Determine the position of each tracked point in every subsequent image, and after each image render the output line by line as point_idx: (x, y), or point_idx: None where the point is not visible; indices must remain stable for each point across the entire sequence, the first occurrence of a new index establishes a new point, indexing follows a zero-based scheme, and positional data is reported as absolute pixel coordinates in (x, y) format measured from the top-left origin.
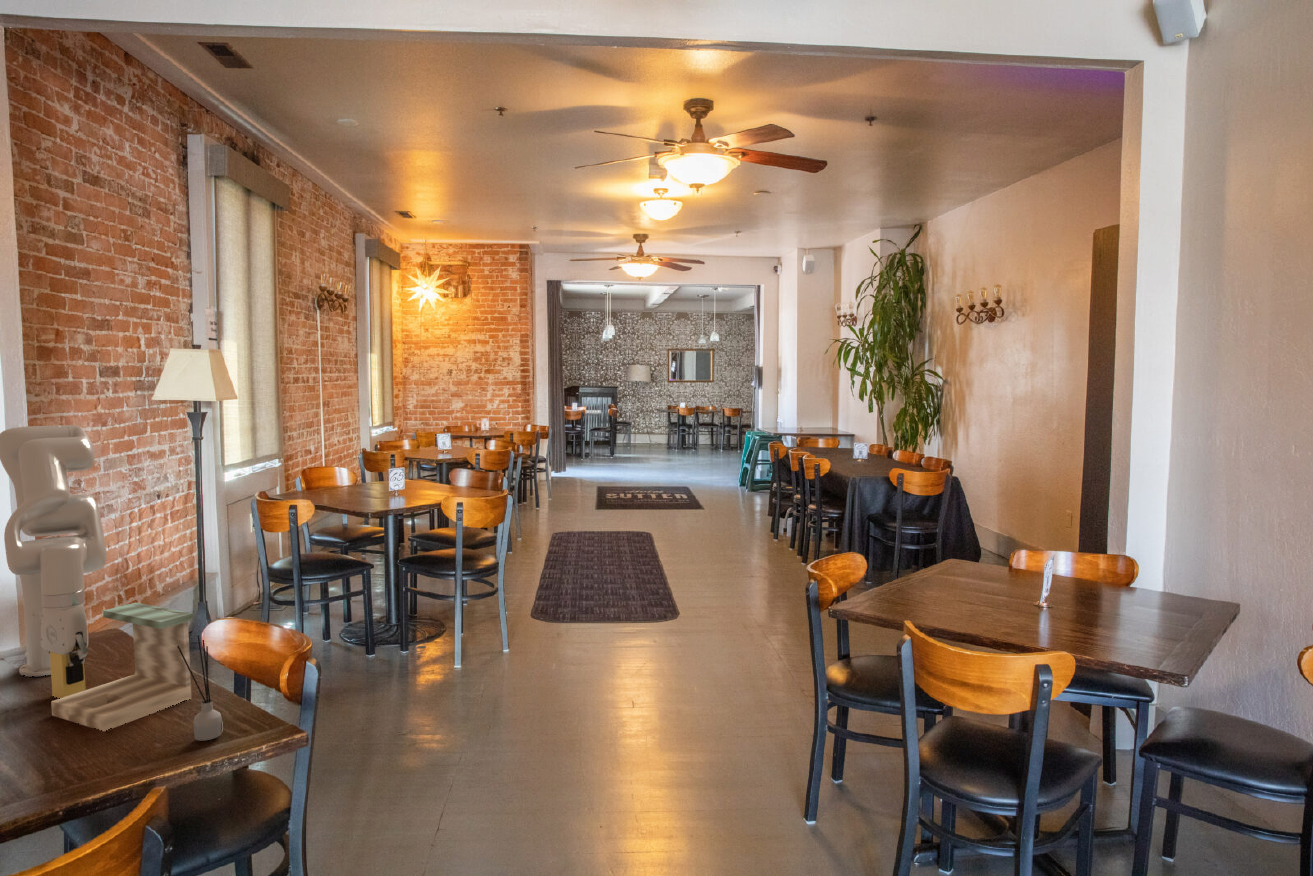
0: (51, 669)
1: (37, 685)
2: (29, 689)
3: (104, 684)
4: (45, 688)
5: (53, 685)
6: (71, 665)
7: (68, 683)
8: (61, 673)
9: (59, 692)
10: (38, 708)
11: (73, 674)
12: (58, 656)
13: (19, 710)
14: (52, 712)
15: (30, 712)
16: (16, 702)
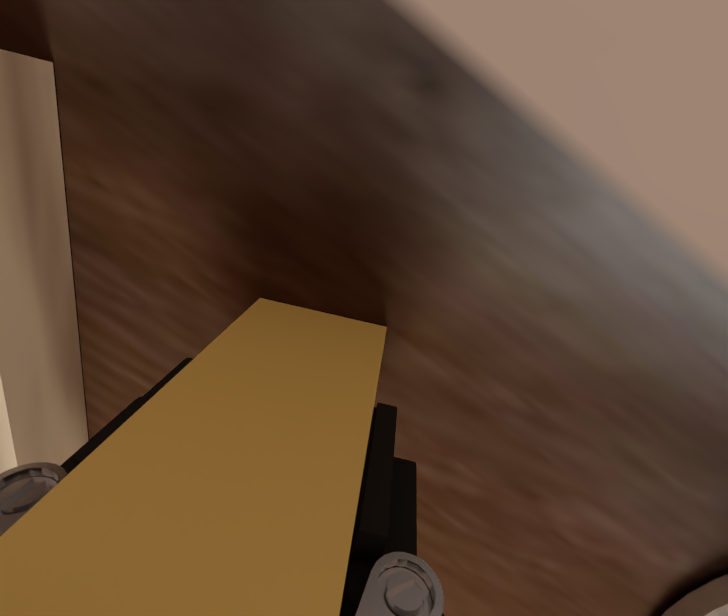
0: (351, 454)
1: (669, 454)
2: (667, 397)
3: (1, 411)
4: (565, 424)
5: (357, 360)
6: (6, 481)
7: (185, 363)
8: (170, 399)
9: (291, 324)
10: (276, 144)
11: (109, 423)
12: (52, 602)
13: (375, 72)
14: (25, 56)
15: (255, 65)
16: (550, 194)
